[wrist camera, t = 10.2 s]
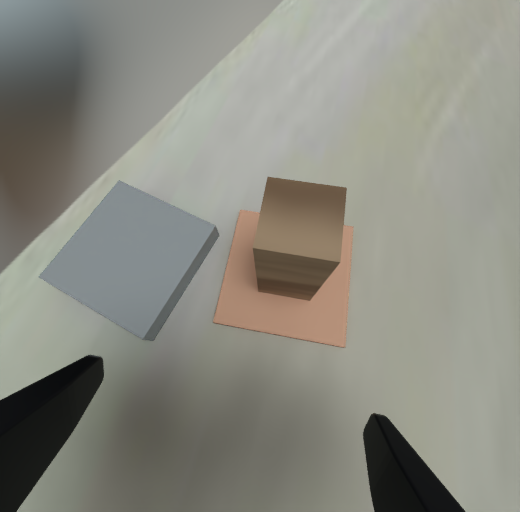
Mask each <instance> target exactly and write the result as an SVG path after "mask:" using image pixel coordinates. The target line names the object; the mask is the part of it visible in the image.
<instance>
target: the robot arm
mask: <svg viewBox="0 0 520 512" xmlns="http://www.w3.org/2000/svg"><path fill="white" fill-rule="evenodd" d="M103 377H104V369H103V359H102V357H99V356H94V355H88V356H85V357H83V358H81V359H80V360H78V361H76V362H74V363H72V364H70V365H68V366H66V367H64V368H62V369H60V370H58V371H56V372H54V373H52V374H50V375H48V376H47V377H45V378H43V379H41V380H39V381H37V382H35V383H33V384H31V385H29V386H27V387H25V388H23V389H21V390H19V391H17V392H15V393H14V394H12V395H10V396H8V397H6V398H4V399H2V400H0V512H16V511H17V510H18V509H19V507H20V506H21V504H22V503H23V501H24V500H25V499H26V497H27V496H28V494H29V493H30V492H31V490H32V489H33V487H34V486H35V485H36V483H37V482H38V480H39V479H40V477H41V476H42V475H43V473H44V472H45V470H46V469H47V468H48V466H49V465H50V463H51V462H52V461H53V459H54V458H55V456H56V455H57V453H58V452H59V451H60V449H61V448H62V446H63V445H64V444H65V442H66V441H67V439H68V438H69V436H70V435H71V433H72V432H73V430H74V429H75V427H76V426H77V424H78V422H79V421H80V419H81V417H82V415H83V414H84V412H85V410H86V409H87V407H88V405H89V403H90V402H91V400H92V398H93V397H94V395H95V393H96V391H97V390H98V388H99V386H100V385H101V383H102V381H103ZM363 439H364V446H365V454H366V462H367V470H368V477H369V485H370V491H371V497H372V502H373V507H374V511H375V512H465V510H464V509H463V508H462V507H461V506H460V504H459V503H458V502H457V501H456V500H455V498H454V497H453V496H452V495H451V494H450V492H449V491H448V490H447V489H446V488H445V486H444V485H443V484H442V483H441V482H440V480H439V479H438V478H437V477H436V475H435V474H434V473H433V472H432V471H431V469H430V468H429V467H428V466H427V465H426V463H425V462H424V461H423V460H422V459H421V457H420V456H419V455H418V454H417V453H416V451H415V450H414V449H413V448H412V447H411V445H410V444H409V443H408V442H407V441H406V439H405V438H404V437H403V436H402V435H401V433H400V432H399V431H398V430H397V428H396V427H395V426H394V425H393V424H392V422H391V421H390V420H389V419H388V418H387V417H386V416H384V415H380V414H376V413H373V414H371V416H370V418H369V420H368V422H367V424H366V426H365V428H364V432H363Z"/></svg>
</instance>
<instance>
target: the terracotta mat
mask: <svg viewBox="0 0 520 512" xmlns="http://www.w3.org/2000/svg"><path fill="white" fill-rule="evenodd" d="M259 216H260V213H258V212H252V211H245V210H240V213H239V217H238V221H237V225H236V229H235V234H234V238H233V242H232V246H231V250H230V254H229V258H228V263H227V267H226V271H225V275H224V279H223V283H222V287H221V292H220V296H219V300H218V304H217V308H216V312H215V316H214V321H213V323H217V324H222V325H227V326H233V327H238V328H243V329H249V330H254V331H259V332H264V333H270V334H275V335H280V336H285V337H291V338H296V339H301V340H307V341H312V342H317V343H322V344H328V345H333V346H338V347H343V348H344V347H345V343H346V328H347V314H348V299H349V284H350V269H351V254H352V240H353V227H352V226H345V225H344V226H343V238H342V250H341V262H340V263H339V265H338V266H337V267H336V269H335V270H334V271H333V272H332V274H331V275H330V276H329V277H328V279H327V280H326V281H325V282H324V284H323V285H322V286H321V287H320V289H319V290H318V291H317V292H316V294H315V295H314V296H313V297H312V299H311V300H310V301H308V300H302V299H297V298H291V297H286V296H280V295H274V294H269V293H263V292H258V285H257V277H256V270H255V262H254V254H253V244H254V239H255V235H256V230H257V225H258V220H259Z"/></svg>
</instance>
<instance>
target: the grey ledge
mask: <svg viewBox="0 0 520 512" xmlns="http://www.w3.org/2000/svg"><path fill="white" fill-rule="evenodd" d="M218 237H219V233H218V231H217V228H216V226H215V225H213V224H211V223H209V222H207V221H204V220H202V219H200V218H198V217H196V216H194V215H192V214H190V213H187V212H185V211H183V210H181V209H179V208H177V207H175V206H173V205H171V204H168V203H166V202H164V201H162V200H160V199H158V198H156V197H154V196H151V195H149V194H147V193H145V192H143V191H141V190H139V189H137V188H134V187H132V186H130V185H128V184H126V183H124V182H122V181H120V180H119V181H118V182H117V183H116V185H115V186H114V187H113V188H112V189H111V191H110V192H109V193H108V194H107V195H106V197H105V198H104V199H103V200H102V201H101V203H100V204H99V205H98V206H97V207H96V209H95V210H94V211H93V212H92V213H91V215H90V216H89V217H88V218H87V219H86V221H85V222H84V223H83V224H82V225H81V227H80V228H79V229H78V230H77V231H76V233H75V234H74V235H73V236H72V237H71V239H70V240H69V241H68V242H67V243H66V245H65V246H64V247H63V248H62V249H61V251H60V252H59V253H58V254H57V255H56V256H55V258H54V259H53V260H52V261H51V262H50V264H49V265H48V266H47V267H46V268H45V270H44V271H43V272H42V273H41V274H40V276H39V278H41V279H43V280H44V281H46V282H48V283H49V284H51V285H53V286H54V287H56V288H58V289H59V290H61V291H63V292H64V293H66V294H68V295H69V296H71V297H73V298H74V299H76V300H78V301H79V302H81V303H83V304H84V305H86V306H88V307H89V308H91V309H93V310H94V311H96V312H98V313H99V314H101V315H103V316H104V317H106V318H108V319H109V320H111V321H113V322H114V323H116V324H118V325H119V326H121V327H123V328H124V329H126V330H128V331H129V332H131V333H133V334H135V335H136V336H138V337H140V338H141V339H144V340H151V341H153V340H154V339H155V337H156V335H157V334H158V332H159V331H160V329H161V327H162V326H163V324H164V323H165V321H166V319H167V318H168V316H169V315H170V313H171V311H172V310H173V308H174V307H175V305H176V303H177V302H178V300H179V299H180V297H181V295H182V294H183V292H184V291H185V289H186V288H187V286H188V284H189V283H190V281H191V280H192V278H193V276H194V275H195V273H196V272H197V270H198V268H199V267H200V265H201V264H202V262H203V260H204V259H205V257H206V256H207V254H208V252H209V251H210V249H211V248H212V246H213V244H214V243H215V241H216V240H217V238H218Z"/></svg>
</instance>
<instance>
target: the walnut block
mask: <svg viewBox="0 0 520 512" xmlns="http://www.w3.org/2000/svg"><path fill="white" fill-rule="evenodd" d="M346 190H347V188H344V187H337V186H330V185H323V184H316V183H308V182H301V181H294V180H287V179H280V178H272V177H268V178H267V183H266V187H265V192H264V197H263V202H262V206H261V211H260V216H259V220H258V225H257V230H256V235H255V239H254V244H253V254H254V262H255V270H256V277H257V285H258V292H263V293H269V294H274V295H280V296H286V297H291V298H297V299H302V300H308V301H310V300H311V299H312V297H313V296H314V295H315V294H316V292H317V291H318V290H319V289H320V287H321V286H322V285H323V284H324V282H325V281H326V280H327V279H328V277H329V276H330V275H331V274H332V272H333V271H334V270H335V269H336V267H337V266H338V265H339V263H340V262H341V250H342V238H343V226H344V214H345V202H346Z"/></svg>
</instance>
